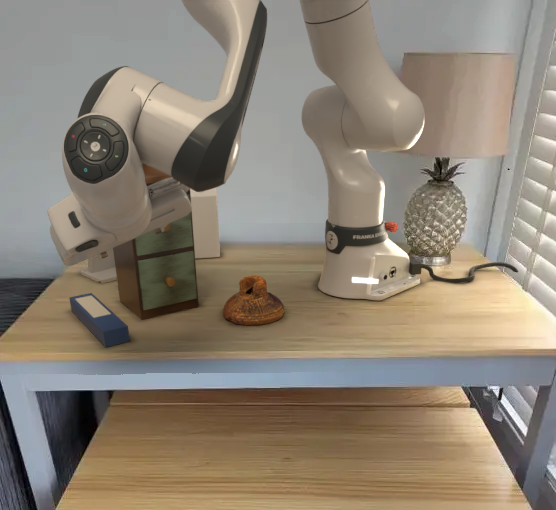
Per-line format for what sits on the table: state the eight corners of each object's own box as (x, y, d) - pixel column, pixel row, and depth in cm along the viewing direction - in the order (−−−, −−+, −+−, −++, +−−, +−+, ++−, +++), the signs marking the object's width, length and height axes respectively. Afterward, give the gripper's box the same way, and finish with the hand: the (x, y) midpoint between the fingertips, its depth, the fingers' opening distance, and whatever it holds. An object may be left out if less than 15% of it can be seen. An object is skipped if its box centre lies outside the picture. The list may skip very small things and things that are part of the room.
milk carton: (189, 250, 155) (183, 173, 146) (217, 249, 156) (213, 172, 147) (191, 259, 148) (185, 178, 139) (220, 257, 149) (216, 177, 140)
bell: (296, 317, 116) (296, 280, 113) (242, 332, 110) (240, 294, 107) (263, 298, 125) (263, 264, 121) (211, 311, 119) (209, 275, 116)
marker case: (93, 306, 122) (91, 292, 120) (130, 341, 107) (127, 325, 106) (71, 311, 119) (69, 296, 118) (105, 347, 105) (103, 331, 104)
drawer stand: (174, 289, 130) (160, 141, 116) (202, 309, 120) (191, 149, 106) (120, 301, 124) (98, 146, 110) (145, 323, 114) (125, 156, 100)
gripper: (178, 154, 83) (182, 197, 96) (34, 214, 79) (60, 249, 93) (198, 195, 82) (200, 232, 96) (55, 257, 79) (78, 286, 93)
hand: (130, 241), depth 95 cm, fingers open, 8 cm apart
